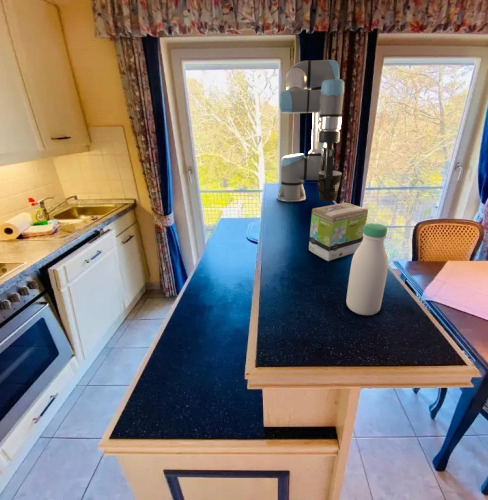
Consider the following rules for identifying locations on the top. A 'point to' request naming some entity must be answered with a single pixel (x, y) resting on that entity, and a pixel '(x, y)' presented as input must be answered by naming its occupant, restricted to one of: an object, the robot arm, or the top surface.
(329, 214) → the tea box
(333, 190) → the coffee mug
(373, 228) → the milk bottle
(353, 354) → the top surface
